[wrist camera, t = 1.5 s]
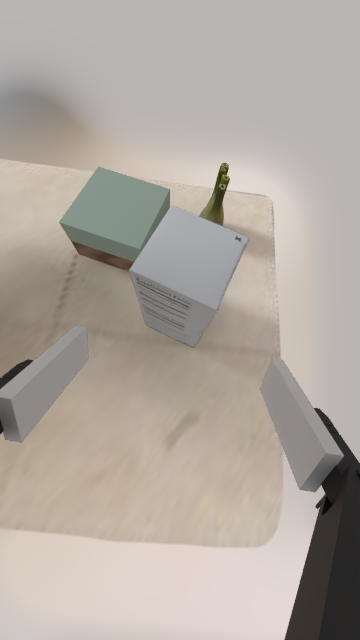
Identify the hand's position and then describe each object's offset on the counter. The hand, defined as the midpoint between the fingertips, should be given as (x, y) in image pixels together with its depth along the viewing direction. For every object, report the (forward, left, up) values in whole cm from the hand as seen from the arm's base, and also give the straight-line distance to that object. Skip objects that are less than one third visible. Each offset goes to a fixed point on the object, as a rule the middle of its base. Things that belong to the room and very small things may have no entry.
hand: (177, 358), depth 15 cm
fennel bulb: (-3, +30, -19) cm, 35 cm away
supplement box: (-2, +11, -19) cm, 22 cm away
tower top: (-17, +22, -15) cm, 31 cm away
